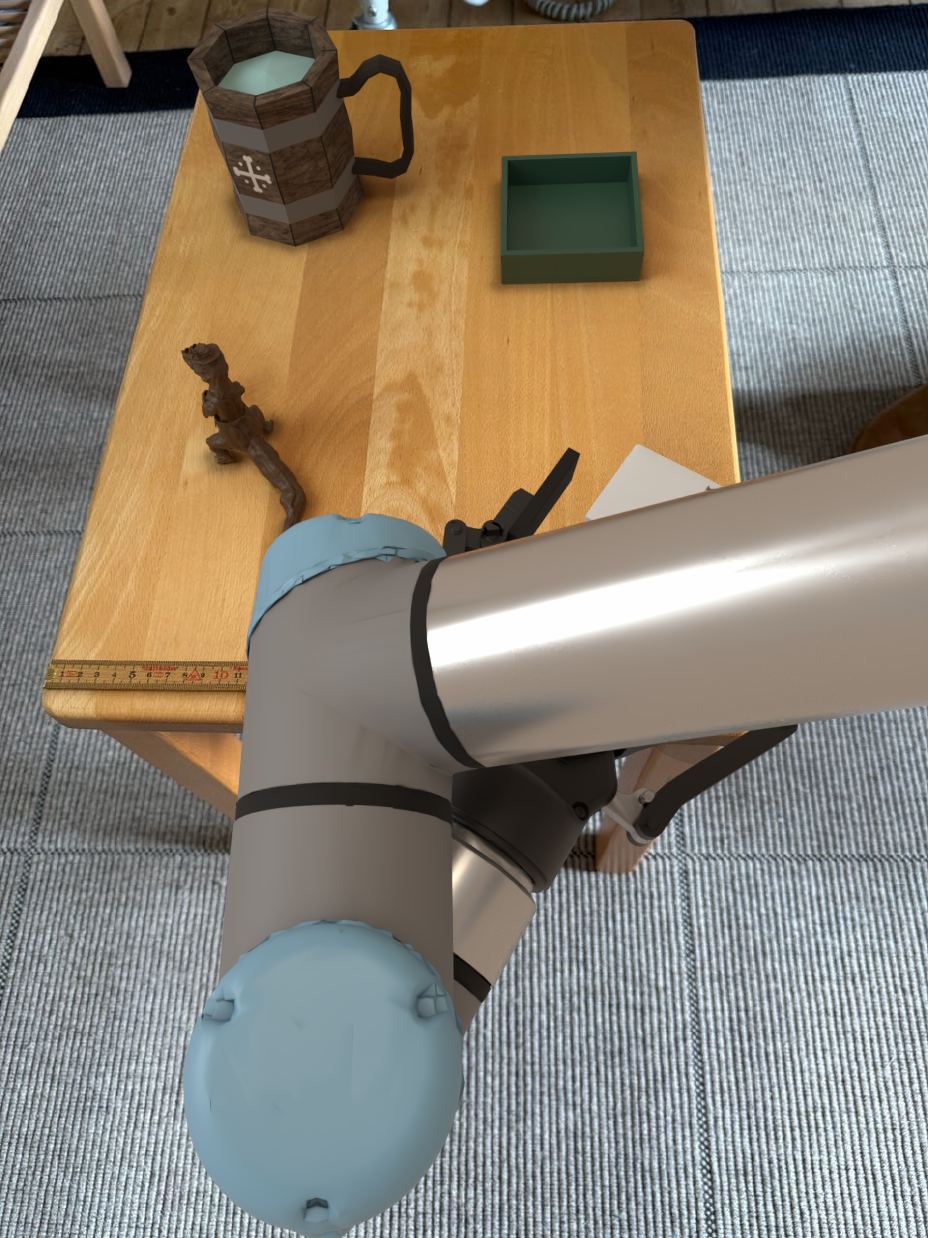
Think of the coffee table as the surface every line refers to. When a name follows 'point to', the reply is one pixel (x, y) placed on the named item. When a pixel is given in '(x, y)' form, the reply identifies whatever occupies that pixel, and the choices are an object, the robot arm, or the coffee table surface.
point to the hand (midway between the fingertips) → (677, 523)
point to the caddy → (571, 218)
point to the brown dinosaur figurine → (241, 427)
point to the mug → (290, 122)
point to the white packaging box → (646, 484)
